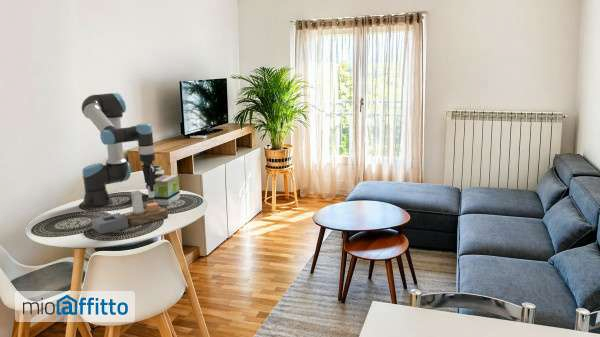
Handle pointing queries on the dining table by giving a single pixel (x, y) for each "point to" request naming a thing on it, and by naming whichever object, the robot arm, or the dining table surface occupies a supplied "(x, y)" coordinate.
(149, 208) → the plunger
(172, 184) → the tea box
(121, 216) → the block
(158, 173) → the apothecary jar
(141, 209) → the steel peg
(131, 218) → the socket block
